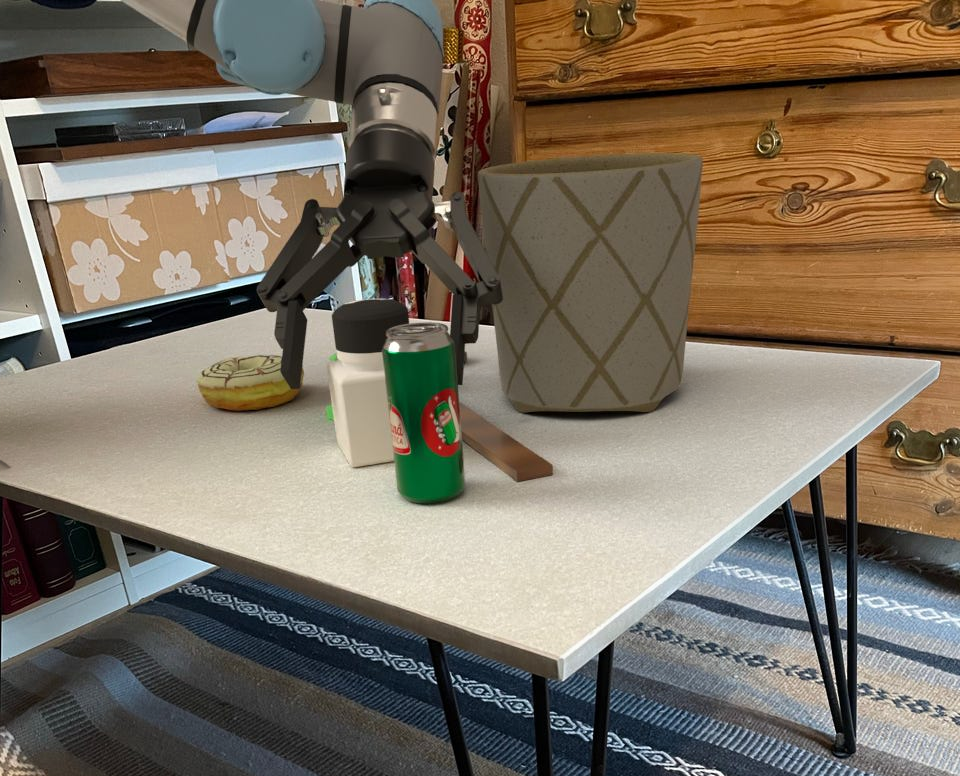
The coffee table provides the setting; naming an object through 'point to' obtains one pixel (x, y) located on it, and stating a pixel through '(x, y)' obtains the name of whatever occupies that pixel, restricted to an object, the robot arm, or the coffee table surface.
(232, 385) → the decorated donut
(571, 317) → the planter
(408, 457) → the soda can
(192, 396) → the coffee table surface
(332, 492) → the coffee table surface
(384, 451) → the medicine bottle
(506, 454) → the wooden plank
